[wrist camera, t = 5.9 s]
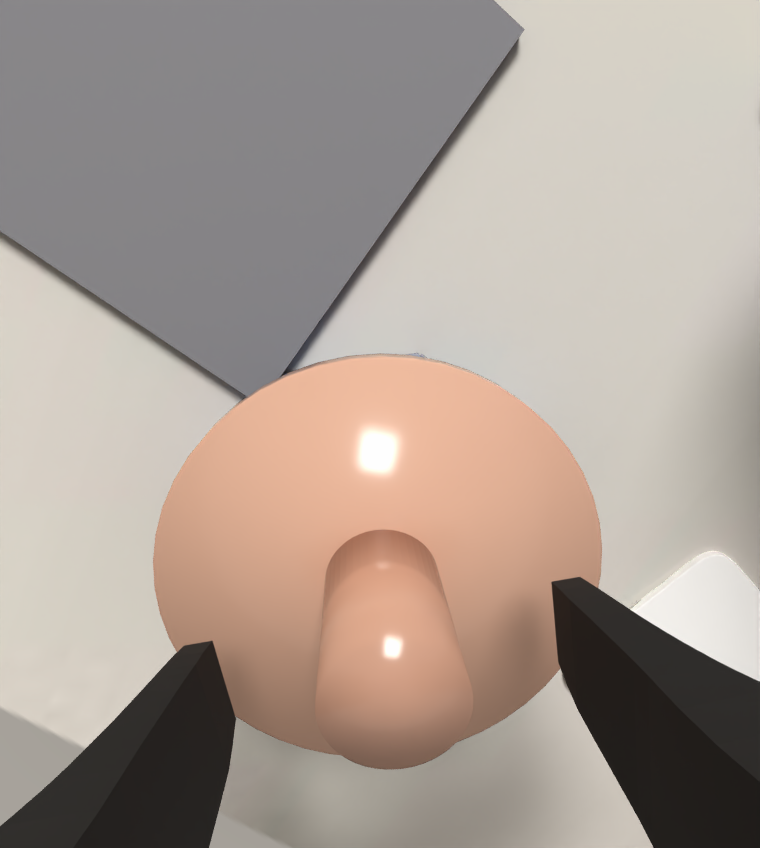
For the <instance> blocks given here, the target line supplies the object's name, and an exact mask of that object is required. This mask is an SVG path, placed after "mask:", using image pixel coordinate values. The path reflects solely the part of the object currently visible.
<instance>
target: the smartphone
mask: <svg viewBox="0 0 760 848" xmlns="http://www.w3.org/2000/svg"><path fill="white" fill-rule="evenodd" d="M630 610H631V611H633V612H635V613H636V614H638V615H639V616H641V617H642V618H644V619H646V620H647V621H649V622H650V623H652V624H654V625H655V626H657V627H659V628H660V629H662V630H663V631H665V632H667V633H668V634H670V635H672V636H674V637H675V638H677V639H679V640H680V641H682V642H684V643H686V644H687V645H689V646H691V647H693V648H695V649H696V650H698V651H700V652H702V653H704V654H706V655H707V656H709V657H711V658H713V659H715V660H717V661H718V662H720V663H722V664H724V665H726V666H728V667H730V668H732V669H734V670H736V671H738V672H741V673H743V674H745V675H747V676H749V677H751V678H753V679H755V680H757V681H760V590H759V589H758V588H757V587H756V585H755V584H754V583H753V582H752V581H751V580H750V579H749V577H748V576H747V575H746V574H745V573H744V572H743V570H742V569H741V568H740V567H739V566H738V565H737V564H736V563H735V562H734V561H733V560H732V559H730V558H729V557H728V556H726V555H725V554H723V553H721V552H718V551H708V552H705V553H702V554H700V555H698V556H696V557H695V558H693V559H692V560H690V561H689V562H688V563H686V564H685V565H684V566H682V567H681V568H680V569H679V570H677V571H676V572H675V573H674V574H672V575H671V576H670V577H669V578H667V580H666V581H663V582H662V584H660V585H658V586H657V588H655V589H653V590H652V591H651V592H649V593H648V594H647V595H646V596H644V597H643V598H642V599H641V600H640V601H639V602H638V603H637V604H636V605H635V606H633V607H632V608H631V609H630Z"/></svg>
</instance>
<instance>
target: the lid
mask: <svg viewBox="0 0 760 848" xmlns="http://www.w3.org/2000/svg"><path fill="white" fill-rule="evenodd" d="M601 558H602V543H601V532H600V522H599V518H598V514H597V510H596V506H595V502H594V498H593V495H592V493H591V491H590V488H589V486H588V483H587V481H586V478H585V476H584V473H583V472H582V470H581V468H580V467H579V465H578V463H577V462H576V460H575V458H574V457H573V455H572V453H571V452H570V450H569V448H568V447H567V446H566V445H565V444H564V442H563V441H562V440H561V439H560V437H559V436H558V435H557V434H556V433H555V431H554V430H553V429H552V428H551V427H550V426H549V425H548V424H547V423H546V422H545V421H544V420H543V419H541V418H540V417H539V416H538V415H537V414H536V413H535V412H534V411H533V410H532V409H530V408H529V407H528V406H527V405H526V404H524V403H523V402H522V401H521V400H519V399H518V398H516V397H515V396H514V395H512V394H511V393H509V392H508V391H506V390H505V389H503V388H502V387H500V386H499V385H497V384H496V383H494V382H492V381H490V380H488V379H486V378H484V377H482V376H480V375H478V374H476V373H474V372H472V371H470V370H467V369H464V368H461V367H458V366H455V365H452V364H449V363H446V362H443V361H439V360H433V359H428V358H423V357H418V356H412V355H398V354H367V355H353V356H346V357H341V358H336V359H332V360H327V361H322V362H318V363H315V364H312V365H309V366H306V367H303V368H301V369H298V370H295V371H292V372H289V373H287V374H285V375H283V376H281V377H279V378H278V379H276V380H274V381H272V382H270V383H268V384H266V385H264V386H262V387H260V388H259V389H258V390H256V391H255V392H253V393H252V394H250V395H249V396H247V397H246V398H245V399H243V400H242V401H240V402H239V403H237V404H236V405H235V406H234V407H233V408H232V409H231V410H230V411H229V412H228V413H226V414H225V415H224V416H223V417H222V418H221V419H220V420H219V421H218V422H217V423H216V424H215V425H214V426H213V427H212V428H211V430H210V431H209V432H208V433H207V434H206V436H205V437H204V438H203V439H202V440H201V442H200V443H199V444H198V445H197V447H196V448H195V449H194V450H193V451H192V453H191V454H190V455H189V456H188V458H187V460H186V461H185V463H184V465H183V466H182V468H181V470H180V471H179V473H178V474H177V476H176V478H175V479H174V481H173V483H172V486H171V488H170V491H169V493H168V495H167V498H166V500H165V503H164V505H163V507H162V511H161V515H160V519H159V523H158V527H157V531H156V537H155V547H154V558H153V567H154V585H155V592H156V596H157V601H158V606H159V611H160V614H161V617H162V620H163V623H164V625H165V628H166V631H167V633H168V636H169V638H170V640H171V642H172V644H173V646H174V648H175V649H176V651H177V652H178V651H179V650H180V649H181V648H182V647H183V646H184V645H190V644H196V643H201V642H207V641H213V644H214V647H215V651H216V654H217V657H218V661H219V664H220V667H221V671H222V674H223V677H224V681H225V684H226V687H227V691H228V694H229V697H230V701H231V704H232V707H233V711H234V714H235V716H236V717H238V718H239V719H241V720H243V721H244V722H246V723H248V724H249V725H251V726H252V727H254V728H256V729H257V730H260V731H262V732H264V733H266V734H268V735H270V736H272V737H275V738H277V739H279V740H281V741H284V742H287V743H290V744H293V745H296V746H299V747H302V748H305V749H310V750H314V751H319V752H324V753H328V754H335V755H342V756H343V757H345V758H347V759H348V760H350V761H353V762H355V763H357V764H360V765H363V766H367V767H371V768H377V769H403V768H408V767H413V766H417V765H420V764H423V763H426V762H428V761H430V760H433V759H434V758H436V757H438V756H440V755H441V754H443V753H444V752H445V751H447V750H448V749H449V748H450V747H452V746H453V745H454V744H455V743H456V742H459V741H461V740H463V739H466V738H468V737H470V736H472V735H475V734H477V733H479V732H482V731H484V730H485V729H487V728H489V727H491V726H493V725H494V724H496V723H498V722H500V721H501V720H503V719H505V718H506V717H508V716H509V715H511V714H512V713H513V712H515V711H516V710H517V709H519V708H520V707H522V706H523V705H524V704H526V703H527V702H528V701H529V700H530V699H531V698H532V697H534V696H535V695H536V694H537V693H538V692H539V691H540V690H541V689H542V688H543V687H545V686H546V684H547V683H548V682H549V681H550V680H551V679H552V677H553V676H554V675H555V674H556V673H557V672H558V671H559V669H560V666H559V663H558V655H557V644H556V632H555V620H554V608H553V596H552V584H551V582H552V581H558V580H564V579H570V578H575V577H581V578H583V579H584V580H586V581H588V582H589V583H591V584H592V585H594V586H595V587H597V588H598V585H599V580H600V575H601Z"/></svg>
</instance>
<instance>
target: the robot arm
mask: <svg viewBox="0 0 760 848" xmlns="http://www.w3.org/2000/svg"><path fill="white" fill-rule="evenodd" d="M551 584H552V596H553V608H554V620H555V632H556V644H557V655H558V663H559V666H560V668H561V671H562V673H563V676H564V678H565V680H566V683H567V685H568V688H569V690H570V693H571V695H572V697H573V700H574V702H575V704H576V707H577V709H578V711H579V713H580V714H581V716H582V718H583V720H584V722H585V724H586V725H587V727H588V729H589V731H590V733H591V734H592V736H593V738H594V740H595V742H596V743H597V745H598V747H599V749H600V751H601V752H602V754H603V756H604V758H605V759H606V761H607V763H608V765H609V767H610V768H611V770H612V772H613V774H614V775H615V777H616V779H617V781H618V783H619V784H620V786H621V788H622V790H623V791H624V793H625V795H626V797H627V799H628V800H629V802H630V804H631V806H632V807H633V809H634V811H635V813H636V815H637V816H638V818H639V820H640V822H641V824H642V826H643V828H644V830H645V832H646V834H647V836H648V838H649V840H650V841H651V843H652V845H653V847H654V848H760V681H757V680H755V679H753V678H751V677H749V676H747V675H745V674H743V673H741V672H738V671H736V670H734V669H732V668H730V667H728V666H726V665H724V664H722V663H720V662H718V661H717V660H715V659H713V658H711V657H709V656H707V655H706V654H704V653H702V652H700V651H698V650H696V649H695V648H693V647H691V646H689V645H687V644H686V643H684V642H682V641H680V640H679V639H677V638H675V637H674V636H672V635H670V634H668V633H667V632H665V631H663V630H662V629H660V628H659V627H657V626H655V625H654V624H652V623H650V622H649V621H647V620H646V619H644V618H642V617H641V616H639V615H638V614H636V613H635V612H633V611H631V610H630V609H628V608H627V607H625V606H624V605H622V604H621V603H619V602H618V601H616V600H615V599H613V598H612V597H610V596H609V595H607V594H606V593H604V592H603V591H601V590H600V589H598V588H597V587H595V586H594V585H592V584H591V583H589V582H588V581H586V580H584V579H583V578H581V577H575V578H570V579H564V580H558V581H552V582H551ZM235 721H236V717H235V714H234V711H233V707H232V704H231V701H230V697H229V694H228V691H227V687H226V684H225V681H224V677H223V674H222V671H221V667H220V664H219V661H218V657H217V654H216V651H215V647H214V644H213V641H207V642H201V643H196V644H190V645H184V646H183V647H182V648H181V649H180V650H179V651H178V652H177V653H176V654H175V655H174V656H173V657H172V658H171V659H170V660H169V661H168V662H167V663H166V665H165V666H164V667H163V668H162V669H161V670H160V671H159V672H158V673H157V674H156V675H155V677H154V678H153V679H152V680H151V681H150V682H149V683H148V684H147V685H146V686H145V687H144V689H143V690H142V691H141V692H140V693H139V694H138V695H137V696H136V697H135V698H134V699H133V700H132V701H131V703H130V704H129V705H128V706H127V707H126V708H125V709H124V710H123V711H122V712H121V713H120V714H119V715H118V717H117V718H116V719H115V720H114V721H113V722H112V723H111V724H110V725H109V726H108V727H107V728H106V729H105V730H104V731H103V732H102V733H101V734H100V735H99V736H98V737H97V738H96V739H95V740H94V741H93V742H92V743H91V744H90V745H89V746H88V747H87V748H86V749H85V750H84V751H83V752H82V753H81V754H80V755H79V756H78V757H77V758H76V759H75V760H74V761H73V762H72V763H71V764H70V765H69V766H68V767H67V768H66V769H65V770H64V771H62V772H61V773H60V774H59V775H58V777H56V778H55V779H54V780H53V781H52V782H51V783H50V784H48V785H47V786H46V787H45V788H44V789H43V790H42V791H41V792H40V793H38V795H36V796H35V797H34V798H33V799H32V800H30V801H29V802H28V803H27V804H26V805H25V806H23V807H22V809H20V810H19V811H18V812H17V813H15V814H14V815H13V816H12V817H11V818H10V819H8V820H7V821H6V822H5V823H4V824H2V825H1V826H0V848H209V845H210V841H211V837H212V834H213V830H214V826H215V822H216V818H217V815H218V811H219V807H220V803H221V799H222V795H223V791H224V787H225V783H226V779H227V775H228V771H229V766H230V759H231V752H232V745H233V737H234V729H235Z"/></svg>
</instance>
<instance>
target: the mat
mask: <svg viewBox="0 0 760 848" xmlns="http://www.w3.org/2000/svg"><path fill="white" fill-rule="evenodd" d="M523 31H524V29H523V28H522V27H521V26H520V25H519V24H518V23H517V22H516V21H515V20H514V19H513V18H512V17H511V16H510V15H509V14H508V13H507V12H506V11H505V10H503V9H502V8H501V7H500V6H499V5H498V4H497V3H496V2H495V1H494V0H0V231H1V232H2V233H4V234H5V235H7V236H8V237H10V238H11V239H13V240H14V241H15V242H17V243H18V244H20V245H21V246H23V247H24V248H26V249H27V250H29V251H30V252H32V253H33V254H35V255H36V256H38V257H39V258H41V259H42V260H44V261H45V262H47V263H48V264H50V265H51V266H53V267H54V268H56V269H57V270H59V271H60V272H62V273H63V274H65V275H66V276H68V277H69V278H71V279H72V280H74V281H75V282H77V283H78V284H80V285H81V286H83V287H84V288H86V289H87V290H89V291H90V292H92V293H93V294H95V295H96V296H98V297H99V298H101V299H102V300H103V301H105V302H106V303H108V304H109V305H111V306H112V307H114V308H115V309H117V310H118V311H120V312H121V313H123V314H124V315H126V316H127V317H129V318H130V319H132V320H133V321H135V322H136V323H138V324H139V325H141V326H142V327H144V328H145V329H147V330H148V331H150V332H151V333H153V334H154V335H156V336H157V337H159V338H160V339H162V340H163V341H165V342H166V343H168V344H169V345H171V346H172V347H174V348H175V349H177V350H178V351H180V352H181V353H183V354H184V355H186V356H187V357H189V358H190V359H191V360H193V361H194V362H196V363H197V364H199V365H200V366H202V367H203V368H205V369H206V370H208V371H209V372H211V373H212V374H214V375H215V376H217V377H218V378H220V379H221V380H223V381H224V382H226V383H227V384H229V385H230V386H232V387H233V388H235V389H236V390H238V391H239V392H241V393H242V394H244V395H245V396H249V395H250V394H252V393H253V392H255V391H256V390H258V389H259V388H260V387H262V386H264V385H266V384H268V383H270V382H272V381H274V380H276V379H278V378H279V377H280V376H281V375H282V374H283V372H284V371H285V369H286V368H287V366H288V365H289V364H290V362H291V361H292V359H293V358H294V357H295V355H296V354H297V352H298V351H299V349H300V348H301V347H302V345H303V344H304V342H305V341H306V339H307V338H308V337H309V335H310V334H311V332H312V331H313V330H314V328H315V327H316V325H317V324H318V322H319V321H320V320H321V318H322V317H323V315H324V314H325V312H326V311H327V310H328V308H329V307H330V305H331V304H332V303H333V301H334V300H335V298H336V297H337V295H338V294H339V293H340V291H341V290H342V288H343V287H344V285H345V284H346V283H347V281H348V280H349V278H350V277H351V276H352V274H353V273H354V271H355V270H356V268H357V267H358V266H359V264H360V263H361V261H362V260H363V258H364V257H365V256H366V254H367V253H368V251H369V250H370V248H371V247H372V246H373V244H374V243H375V241H376V240H377V239H378V237H379V236H380V234H381V233H382V231H383V230H384V229H385V227H386V226H387V224H388V223H389V221H390V220H391V219H392V217H393V216H394V214H395V213H396V212H397V210H398V209H399V207H400V206H401V204H402V203H403V202H404V200H405V199H406V197H407V196H408V194H409V193H410V192H411V190H412V189H413V187H414V186H415V185H416V183H417V182H418V180H419V179H420V177H421V176H422V175H423V173H424V172H425V170H426V169H427V167H428V166H429V165H430V163H431V162H432V160H433V159H434V158H435V156H436V155H437V153H438V152H439V150H440V149H441V148H442V146H443V145H444V143H445V142H446V140H447V139H448V138H449V136H450V135H451V133H452V132H453V131H454V129H455V128H456V126H457V125H458V123H459V122H460V121H461V119H462V118H463V116H464V115H465V113H466V112H467V111H468V109H469V108H470V106H471V105H472V103H473V102H474V101H475V99H476V98H477V96H478V95H479V94H480V92H481V91H482V89H483V88H484V86H485V85H486V84H487V82H488V81H489V79H490V78H491V76H492V75H493V74H494V72H495V71H496V69H497V68H498V67H499V65H500V64H501V62H502V61H503V59H504V58H505V57H506V55H507V54H508V52H509V51H510V49H511V48H512V47H513V45H514V44H515V42H516V41H517V40H518V38H519V37H520V35H521V34H522V32H523Z"/></svg>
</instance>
